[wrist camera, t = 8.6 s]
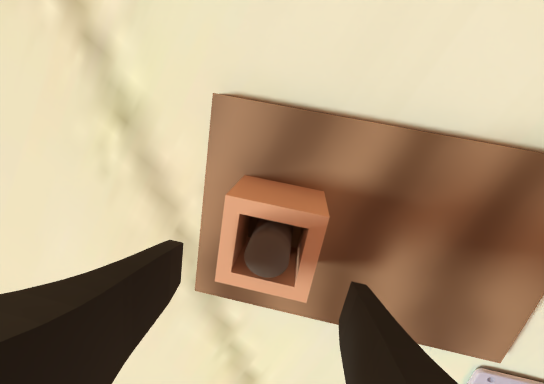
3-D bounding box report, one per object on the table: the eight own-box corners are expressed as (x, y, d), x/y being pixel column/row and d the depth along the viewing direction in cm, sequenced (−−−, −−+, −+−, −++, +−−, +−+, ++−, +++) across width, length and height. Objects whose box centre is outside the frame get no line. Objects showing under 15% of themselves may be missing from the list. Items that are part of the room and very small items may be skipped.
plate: (601, 163, 14) (772, 194, 9) (490, 350, 19) (561, 443, 13) (218, 94, 16) (174, 86, 11) (200, 282, 20) (162, 341, 15)
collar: (324, 191, 16) (329, 217, 12) (306, 260, 17) (306, 303, 13) (244, 175, 16) (225, 194, 12) (234, 244, 18) (214, 281, 14)
